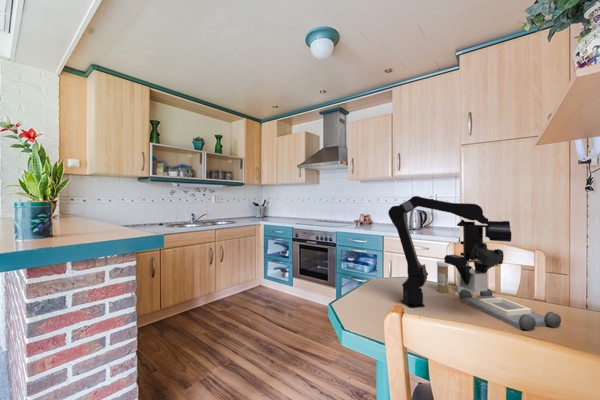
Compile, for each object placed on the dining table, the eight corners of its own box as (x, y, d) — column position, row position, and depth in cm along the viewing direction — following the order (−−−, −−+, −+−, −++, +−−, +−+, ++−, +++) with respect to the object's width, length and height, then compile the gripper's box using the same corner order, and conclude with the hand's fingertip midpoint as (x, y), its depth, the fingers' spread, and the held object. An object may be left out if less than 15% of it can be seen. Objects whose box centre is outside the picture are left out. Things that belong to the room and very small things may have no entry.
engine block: (474, 291, 85) (474, 274, 85) (460, 286, 91) (460, 269, 91) (487, 290, 86) (487, 273, 86) (472, 285, 92) (472, 268, 92)
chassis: (524, 331, 78) (524, 317, 78) (459, 300, 103) (458, 289, 103) (561, 327, 81) (560, 313, 81) (488, 297, 106) (488, 287, 106)
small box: (472, 295, 109) (472, 271, 109) (457, 292, 112) (457, 268, 112) (473, 290, 115) (473, 267, 115) (459, 287, 118) (459, 265, 119)
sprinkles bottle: (451, 292, 112) (450, 262, 112) (442, 293, 111) (442, 262, 111) (443, 289, 116) (442, 260, 116) (434, 290, 115) (434, 260, 116)
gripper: (469, 244, 79) (469, 294, 79) (518, 242, 83) (519, 290, 83) (443, 238, 90) (443, 282, 90) (487, 237, 94) (487, 279, 93)
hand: (473, 284), depth 89 cm, fingers closed on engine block, 5 cm apart
